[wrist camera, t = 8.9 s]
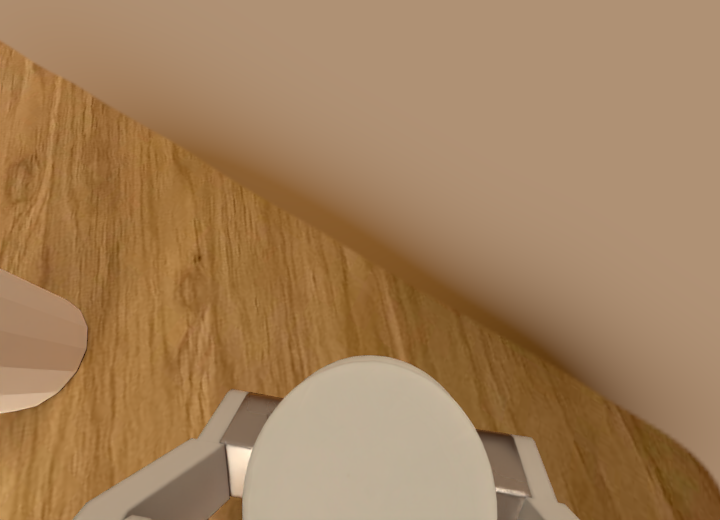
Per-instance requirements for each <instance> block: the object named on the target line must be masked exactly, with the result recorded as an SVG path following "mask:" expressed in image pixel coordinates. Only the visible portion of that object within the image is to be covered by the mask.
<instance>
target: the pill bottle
mask: <svg viewBox="0 0 720 520" xmlns="http://www.w3.org/2000/svg"><path fill="white" fill-rule="evenodd" d="M242 516H243V520H497V498H496V491H495V485H494V479H493V474H492V469H491V465H490V462H489V459H488V456H487V453H486V451H485V448H484V445H483V443H482V441H481V439H480V437H479V435H478V433H477V431H476V429H475V428H474V426H473V424H472V422H471V421H470V419H469V418H468V417H467V415H466V414H465V412H464V411H463V410H462V409H461V407H460V406H459V405H458V404H457V402H456V401H455V400H454V399H453V398H452V397H451V396H450V394H449V393H448V392H447V391H446V390H445V389H444V388H443V387H442V386H441V385H440V384H439V383H438V382H437V381H436V380H435V379H433V378H432V377H431V376H429V375H428V374H427V373H425V372H424V371H422V370H420V369H419V368H417V367H415V366H413V365H411V364H409V363H406V362H403V361H400V360H397V359H394V358H390V357H385V356H370V355H364V356H354V357H349V358H346V359H342V360H338V361H336V362H334V363H331V364H329V365H327V366H325V367H323V368H321V369H319V370H318V371H316V372H315V373H313V374H312V375H310V376H309V377H307V378H306V379H305V380H304V381H303V382H302V383H300V384H299V385H298V386H296V387H295V388H294V389H293V390H292V391H291V392H290V393H289V394H288V395H287V396H286V397H285V398H284V399H283V400H282V401H281V402H280V403H279V404H278V406H277V407H276V408H275V410H274V411H273V412H272V414H271V415H270V416H269V418H268V419H267V421H266V423H265V424H264V426H263V428H262V430H261V432H260V433H259V435H258V437H257V440H256V442H255V444H254V447H253V450H252V453H251V456H250V459H249V462H248V466H247V470H246V474H245V480H244V488H243V499H242Z"/></svg>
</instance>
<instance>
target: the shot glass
mask: <svg viewBox="0 0 720 520" xmlns="http://www.w3.org/2000/svg"><path fill="white" fill-rule="evenodd" d="M87 330H88V327H87V325H86V322H85V320H84V318H83V315H82V313H81V311H80V310H79V309H78V308H77V307H75V306H74V305H73V304H71V303H70V302H69V301H67V300H66V299H64V298H62V297H60V296H58V295H55V294H53V293H51V292H49V291H47V290H45V289H43V288H41V287H38V286H36V285H34V284H32V283H30V282H28V281H26V280H24V279H21V278H19V277H17V276H15V275H13V274H11V273H9V272H7V271H5V270H2V269H0V413H7V412H14V411H18V410H22V409H26V408H31V407H35V406H37V405H39V404H41V403H42V402H44V401H45V400H47V399H49V398H50V397H52V396H53V395H55V394H56V393H58V392H59V391H60V390H61V389H62V388H63V387H64V386H65V384H66V383H67V382H68V381H69V380H70V379H71V377H72V376H73V375H74V374H75V373H76V372H77V369H78V367H79V365H80V363H81V360H82V358H83V356H84V353H85V351H86V348H87Z"/></svg>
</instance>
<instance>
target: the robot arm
mask: <svg viewBox="0 0 720 520" xmlns="http://www.w3.org/2000/svg"><path fill="white" fill-rule="evenodd" d="M283 399H284V398H279V397H274V396H269V395H263V394H258V393H253V392H246V391H240V390H235V389H231V390H230V391H229V392H228V393H227V394H226V395H225V397H224V398H223V400H222V401H221V403H220V404H219V406H218V408H217V409H216V411H215V412H214V414H213V415H212V417H211V418H210V420H209V421H208V423H207V425H206V426H205V428H204V429H203V431H202V432H201V434H200V435H199V437H198V438H197V439H193V438H191V439H190V440H188V441H186V442H185V443H183V444H181V445H180V446H178V447H176V448H175V449H173V450H172V451H170V452H168V453H167V454H165V455H163V456H162V457H160V458H159V459H157V460H155V461H154V462H152V463H150V464H149V465H147V466H146V467H144V468H142V469H141V470H139V471H137V472H136V473H134V474H133V475H131V476H129V477H128V478H126V479H124V480H123V481H121V482H120V483H118V484H116V485H115V486H113V487H111V488H110V489H108V490H107V491H105V492H103V493H102V494H100V495H98V496H97V497H95V498H93V499H92V500H90V501H89V502H87V503H86V504H85V505H84V506H83V507H82V509H81V510H80V511H79V512H78V514H77V515H76V516H75V517H74V518H73V520H207V519H208V518H209V517H211V516H212V515H213V514H214V513H215V512H216V511H217V510H218V509H219V508H220V507H221V506H222V505H223V504H224V503H225V502H227V501H228V500H229V499H230V496H233V497H239V498H243V488H244V480H245V474H246V470H247V466H248V462H249V459H250V456H251V453H252V450H253V447H254V444H255V442H256V440H257V437H258V435H259V433H260V432H261V430H262V428H263V426H264V424H265V423H266V421H267V419H268V418H269V416H270V415H271V414H272V412H273V411H274V410H275V408H276V407H277V406H278V404H279V403H280V402H281V401H282V400H283ZM476 431H477V433H478V435H479V437H480V439H481V441H482V443H483V445H484V448H485V451H486V453H487V456H488V459H489V462H490V465H491V469H492V474H493V479H494V485H495V491H496V498H497V520H579V518H578V517H577V516H576V515H575V514H574V513H573V512H572V511H571V510H570V509H569V508H568V507H567V506H566V505H565V504H562V503H558V502H557V499H556V496H555V494H554V491H553V488H552V486H551V483H550V481H549V478H548V475H547V473H546V470H545V467H544V465H543V462H542V459H541V457H540V454H539V452H538V449H537V446H536V444H535V441H534V440H533V439H532V438H531V437H525V436H518V435H512V434H510V435H509V434H506V433H499V432H493V431H486V430H479V429H476Z"/></svg>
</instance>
